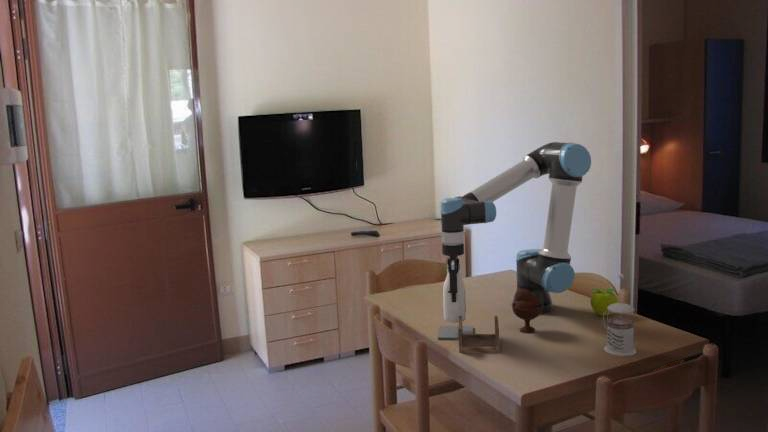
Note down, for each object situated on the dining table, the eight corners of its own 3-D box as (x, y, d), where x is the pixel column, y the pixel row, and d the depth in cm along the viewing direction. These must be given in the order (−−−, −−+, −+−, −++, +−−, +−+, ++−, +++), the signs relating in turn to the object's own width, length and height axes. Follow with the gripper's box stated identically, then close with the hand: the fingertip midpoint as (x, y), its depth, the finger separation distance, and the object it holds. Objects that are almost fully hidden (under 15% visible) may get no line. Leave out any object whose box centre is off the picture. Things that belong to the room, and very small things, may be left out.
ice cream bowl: (526, 338, 216) (525, 295, 214) (505, 329, 226) (504, 288, 224) (550, 332, 221) (549, 290, 219) (528, 323, 231) (528, 283, 228)
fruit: (589, 310, 241) (589, 285, 240) (614, 311, 239) (615, 285, 238) (591, 318, 233) (591, 292, 231) (618, 319, 231) (618, 292, 229)
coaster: (473, 327, 229) (472, 325, 229) (473, 339, 218) (472, 337, 217) (439, 327, 231) (439, 325, 231) (437, 339, 219) (437, 337, 219)
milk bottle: (465, 323, 219) (463, 267, 216) (442, 323, 220) (440, 266, 217) (466, 316, 226) (465, 261, 223) (445, 315, 228) (443, 261, 225)
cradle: (498, 338, 218) (497, 315, 216) (499, 352, 205) (498, 328, 204) (459, 338, 220) (459, 315, 218) (459, 352, 207) (458, 328, 206)
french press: (619, 358, 196) (620, 279, 192) (593, 346, 206) (593, 271, 202) (643, 351, 200) (645, 274, 196) (616, 340, 210) (617, 267, 206)
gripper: (443, 237, 230) (445, 298, 233) (440, 249, 209) (442, 316, 213) (464, 237, 228) (465, 298, 232) (463, 249, 208) (465, 316, 212)
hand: (454, 306), depth 223 cm, fingers closed on milk bottle, 8 cm apart
